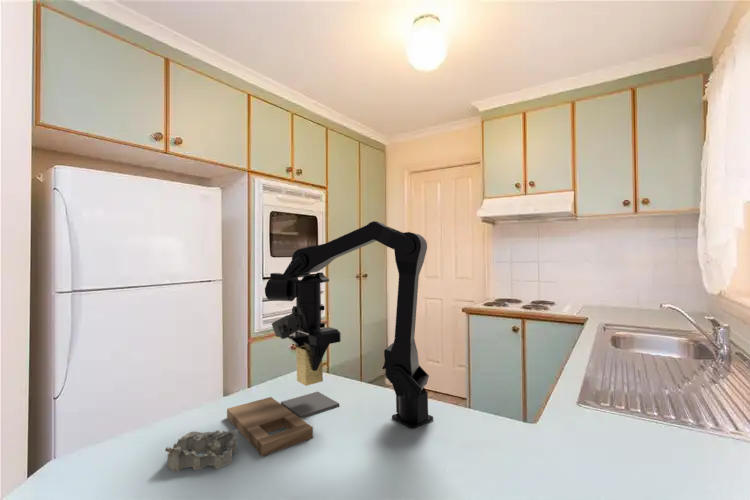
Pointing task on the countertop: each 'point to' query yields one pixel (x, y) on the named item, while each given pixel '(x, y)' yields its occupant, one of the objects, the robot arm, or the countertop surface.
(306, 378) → the brass plug
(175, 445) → the egg carton
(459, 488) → the countertop surface
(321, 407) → the rubber mat
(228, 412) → the walnut board
